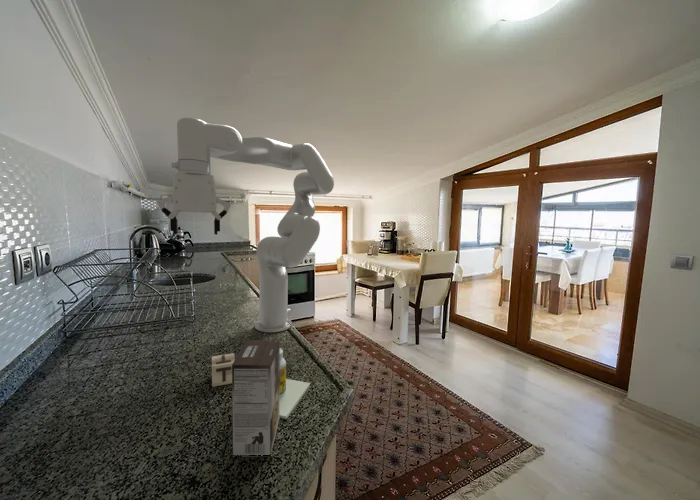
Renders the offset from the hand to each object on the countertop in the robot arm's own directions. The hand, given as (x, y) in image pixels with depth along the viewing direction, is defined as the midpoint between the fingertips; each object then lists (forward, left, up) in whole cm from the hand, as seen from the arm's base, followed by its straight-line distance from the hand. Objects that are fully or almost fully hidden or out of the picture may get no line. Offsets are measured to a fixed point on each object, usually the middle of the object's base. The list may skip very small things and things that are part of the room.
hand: (196, 234), depth 79 cm
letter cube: (+10, +16, -33) cm, 38 cm away
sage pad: (+12, +30, -33) cm, 46 cm away
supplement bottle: (+12, +30, -33) cm, 46 cm away
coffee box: (+24, +33, -34) cm, 53 cm away
